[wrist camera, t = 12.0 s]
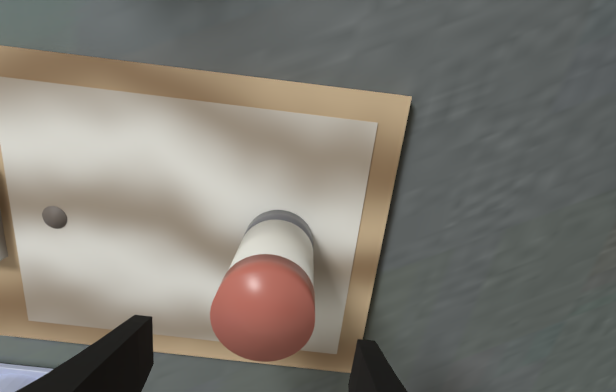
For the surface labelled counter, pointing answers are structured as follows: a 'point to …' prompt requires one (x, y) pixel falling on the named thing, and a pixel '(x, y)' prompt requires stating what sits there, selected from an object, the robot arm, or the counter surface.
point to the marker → (268, 290)
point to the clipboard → (182, 196)
